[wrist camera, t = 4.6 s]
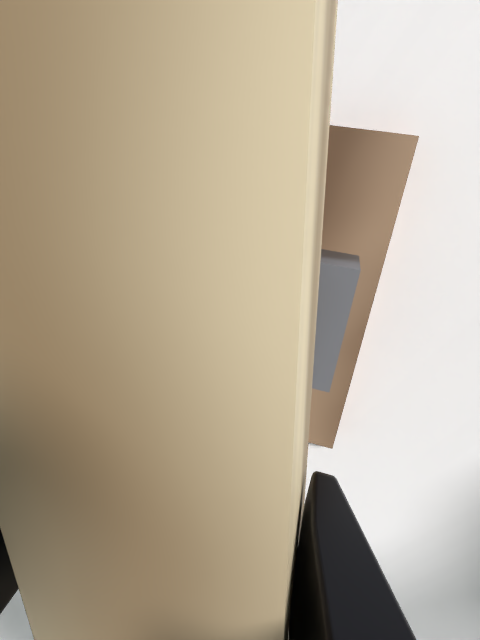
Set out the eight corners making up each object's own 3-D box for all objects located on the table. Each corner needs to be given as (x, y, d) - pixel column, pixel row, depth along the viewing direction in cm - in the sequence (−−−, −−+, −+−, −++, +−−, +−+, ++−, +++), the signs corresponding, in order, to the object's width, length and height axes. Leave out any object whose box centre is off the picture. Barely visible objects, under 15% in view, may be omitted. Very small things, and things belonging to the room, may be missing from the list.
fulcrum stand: (414, 138, 15) (432, 129, 12) (332, 436, 20) (329, 485, 17) (212, 113, 16) (179, 100, 13) (187, 397, 22) (159, 436, 18)
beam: (338, -23, 6) (335, -367, 2) (293, 666, 11) (270, 898, 8) (92, 5, 7) (-221, -201, 3) (164, 630, 12) (90, 825, 9)
